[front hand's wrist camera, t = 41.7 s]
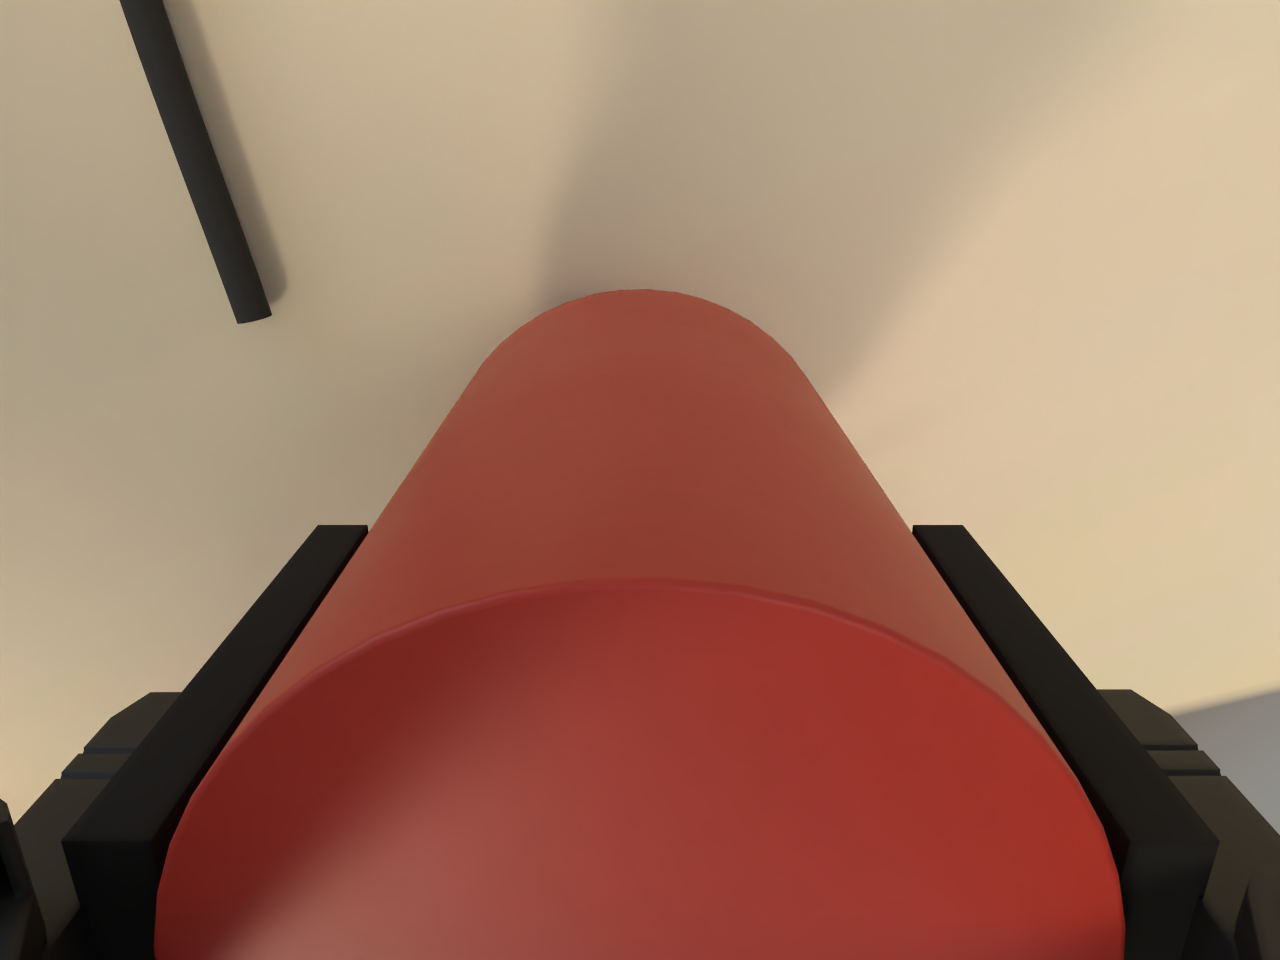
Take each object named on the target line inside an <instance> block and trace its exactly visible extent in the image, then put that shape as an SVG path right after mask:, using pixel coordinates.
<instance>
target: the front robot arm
mask: <svg viewBox="0 0 1280 960" xmlns="http://www.w3.org/2000/svg"><path fill="white" fill-rule="evenodd" d="M120 3H121V6H122V9H123V11H124V14H125V17H126V20H127V23H128V26H129V29H130V32H131V34H132V37H133V40H134V43H135V46H136V49H137V52H138V54H139V57H140V60H141V63H142V66H143V68H144V71H145V74H146V77H147V80H148V82H149V85H150V88H151V91H152V93H153V96H154V99H155V102H156V104H157V107H158V110H159V113H160V115H161V118H162V121H163V124H164V126H165V129H166V132H167V134H168V137H169V140H170V143H171V145H172V148H173V151H174V153H175V156H176V159H177V161H178V164H179V167H180V169H181V172H182V175H183V177H184V180H185V183H186V185H187V188H188V191H189V193H190V196H191V199H192V201H193V204H194V207H195V209H196V212H197V215H198V218H199V220H200V223H201V226H202V228H203V231H204V234H205V236H206V239H207V242H208V244H209V247H210V250H211V252H212V255H213V258H214V260H215V263H216V266H217V269H218V271H219V274H220V277H221V279H222V282H223V285H224V288H225V290H226V293H227V296H228V299H229V301H230V304H231V307H232V310H233V312H234V315H235V318H236V321H237V323H238V324H241V323H247V322H252V321H256V320H260V319H264V318H266V317H269V316H271V315H272V313H271V310H270V307H269V304H268V302H267V299H266V296H265V293H264V290H263V287H262V284H261V281H260V279H259V276H258V273H257V270H256V267H255V264H254V262H253V259H252V256H251V253H250V250H249V248H248V245H247V242H246V239H245V236H244V234H243V231H242V228H241V225H240V222H239V220H238V217H237V214H236V211H235V208H234V206H233V203H232V200H231V197H230V194H229V192H228V189H227V186H226V183H225V181H224V178H223V175H222V172H221V169H220V167H219V164H218V161H217V158H216V155H215V153H214V150H213V147H212V144H211V141H210V139H209V136H208V133H207V130H206V127H205V124H204V122H203V119H202V116H201V113H200V110H199V108H198V105H197V102H196V99H195V96H194V93H193V90H192V87H191V85H190V82H189V79H188V76H187V73H186V70H185V67H184V64H183V61H182V58H181V55H180V53H179V50H178V47H177V44H176V41H175V38H174V35H173V32H172V29H171V26H170V23H169V20H168V17H167V14H166V11H165V8H164V5H163V2H162V0H120ZM367 534H368V525H318V526H317V527H316V528H315V529H314V531H313V532H312V533H311V534H310V535H309V537H308V538H307V539H306V540H305V542H304V543H303V544H302V545H301V547H300V548H299V549H298V550H297V551H296V553H295V554H294V555H293V556H292V558H291V559H290V560H289V561H288V562H287V564H286V565H285V566H284V567H283V569H282V570H281V571H280V572H279V574H278V575H277V576H276V577H275V578H274V580H273V581H272V582H271V583H270V585H269V586H268V587H267V588H266V589H265V591H264V592H263V593H262V594H261V596H260V597H259V598H258V599H257V601H256V602H255V603H254V604H253V605H252V607H251V608H250V609H249V610H248V612H247V613H246V614H245V615H244V617H243V618H242V619H241V620H240V621H239V623H238V624H237V625H236V626H235V628H234V629H233V630H232V631H231V632H230V634H229V635H228V636H227V637H226V639H225V640H224V641H223V642H222V644H221V645H220V646H219V647H218V648H217V650H216V651H215V652H214V653H213V655H212V656H211V657H210V658H209V659H208V661H207V662H206V663H205V664H204V666H203V667H202V668H201V669H200V671H199V672H198V673H197V674H196V675H195V677H194V678H193V679H192V680H191V682H190V683H189V684H188V685H187V686H186V688H185V689H184V690H183V691H182V692H150V693H149V694H147V695H146V696H144V697H142V698H141V699H139V700H138V701H136V702H135V703H133V704H132V705H130V706H128V707H127V708H125V709H124V710H122V711H121V712H119V713H118V714H116V715H114V716H113V717H111V718H110V719H109V720H108V721H107V723H106V724H105V725H104V726H103V727H102V728H101V729H100V730H99V731H98V733H97V734H96V735H95V736H94V737H93V738H92V739H91V740H90V741H89V743H88V744H87V745H86V746H85V747H84V752H83V754H78V755H77V756H76V757H75V758H74V759H73V760H72V761H71V763H70V764H69V765H68V766H67V767H66V768H65V769H64V770H63V771H62V776H61V778H60V779H55V780H54V781H53V783H52V784H51V785H50V786H49V787H48V788H47V789H46V790H45V791H44V793H43V794H42V795H41V796H40V797H39V798H38V799H37V800H36V801H35V803H34V804H33V805H32V806H31V807H30V808H29V809H28V810H27V811H26V813H25V814H24V815H23V816H22V817H21V818H20V819H19V820H18V821H17V823H16V824H15V825H13V821H12V818H11V815H10V812H9V809H8V806H7V803H5V802H4V801H3V800H1V799H0V960H155V953H154V934H155V919H156V903H157V892H158V888H159V884H160V880H161V876H162V872H163V868H164V864H165V860H166V856H167V852H168V848H169V844H170V842H171V840H172V838H173V835H174V833H175V831H176V829H177V827H178V825H179V822H180V820H181V818H182V816H183V814H184V811H185V809H186V807H187V805H188V803H189V800H190V798H191V796H192V795H193V793H194V792H195V790H196V789H197V787H198V786H199V784H200V783H201V781H202V780H203V778H204V777H205V775H206V774H207V772H208V771H209V769H210V768H211V766H212V765H213V763H214V762H215V760H216V759H217V757H218V756H219V754H220V753H221V751H222V750H223V748H224V747H225V746H226V744H227V743H228V741H229V740H230V738H231V737H232V735H233V734H234V732H235V731H236V729H237V728H238V726H239V725H240V723H241V722H242V720H243V719H244V717H245V716H246V714H247V713H248V711H249V710H250V708H251V707H252V705H253V704H254V702H255V701H256V699H257V698H258V696H259V695H260V693H261V692H262V691H263V689H264V688H265V686H266V685H267V683H268V682H269V680H270V679H271V677H272V676H273V674H274V673H275V671H276V670H277V668H278V667H279V665H280V664H281V662H282V661H283V659H284V658H285V656H286V655H287V653H288V652H289V650H290V649H291V647H292V646H293V644H294V643H295V641H296V640H297V638H298V637H299V636H300V634H301V633H302V631H303V630H304V628H305V627H306V625H307V624H308V622H309V621H310V619H311V618H312V616H313V615H314V613H315V612H316V610H317V609H318V607H319V606H320V604H321V603H322V601H323V600H324V598H325V597H326V595H327V594H328V592H329V591H330V589H331V588H332V586H333V585H334V584H335V582H336V581H337V579H338V578H339V576H340V575H341V573H342V572H343V570H344V569H345V567H346V566H347V564H348V563H349V561H350V560H351V558H352V557H353V555H354V554H355V552H356V551H357V549H358V548H359V546H360V545H361V543H362V542H363V540H364V539H365V537H366V536H367ZM912 534H913V536H914V537H915V539H916V540H917V542H918V543H919V544H920V546H921V547H922V549H923V550H924V552H925V553H926V555H927V556H928V558H929V559H930V561H931V562H932V564H933V565H934V567H935V568H936V570H937V571H938V573H939V574H940V576H941V577H942V579H943V580H944V582H945V583H946V585H947V586H948V587H949V589H950V590H951V592H952V593H953V595H954V596H955V598H956V599H957V601H958V602H959V604H960V605H961V607H962V608H963V610H964V611H965V613H966V614H967V616H968V617H969V619H970V620H971V622H972V623H973V625H974V626H975V628H976V629H977V630H978V632H979V633H980V635H981V636H982V638H983V639H984V641H985V642H986V644H987V645H988V647H989V648H990V650H991V651H992V653H993V654H994V656H995V657H996V659H997V660H998V662H999V663H1000V665H1001V666H1002V668H1003V669H1004V671H1005V672H1006V673H1007V675H1008V676H1009V678H1010V679H1011V681H1012V682H1013V684H1014V685H1015V687H1016V688H1017V690H1018V691H1019V693H1020V694H1021V696H1022V697H1023V699H1024V700H1025V702H1026V703H1027V705H1028V706H1029V708H1030V709H1031V711H1032V712H1033V714H1034V715H1035V716H1036V718H1037V719H1038V721H1039V722H1040V724H1041V725H1042V727H1043V728H1044V730H1045V731H1046V733H1047V734H1048V736H1049V737H1050V739H1051V740H1052V742H1053V743H1054V745H1055V746H1056V748H1057V749H1058V751H1059V752H1060V754H1061V755H1062V757H1063V758H1064V760H1065V761H1066V762H1067V764H1068V765H1069V767H1070V768H1071V770H1072V771H1073V773H1074V774H1075V776H1076V777H1077V779H1078V781H1079V782H1080V784H1081V786H1082V788H1083V790H1084V792H1085V794H1086V796H1087V797H1088V799H1089V801H1090V803H1091V805H1092V807H1093V809H1094V810H1095V812H1096V814H1097V816H1098V818H1099V820H1100V822H1101V824H1102V825H1103V828H1104V831H1105V834H1106V837H1107V840H1108V843H1109V846H1110V849H1111V853H1112V856H1113V859H1114V862H1115V865H1116V868H1117V871H1118V874H1119V881H1120V888H1121V896H1122V903H1123V911H1124V919H1125V928H1126V931H1125V950H1124V960H1280V835H1279V834H1278V833H1277V832H1276V831H1275V830H1274V829H1273V827H1272V826H1271V825H1270V824H1269V823H1268V822H1267V821H1266V820H1265V819H1264V817H1263V816H1262V815H1261V814H1260V813H1259V812H1258V811H1257V810H1256V809H1255V808H1254V806H1253V805H1252V804H1251V803H1250V802H1249V801H1248V800H1247V799H1246V798H1245V796H1244V795H1243V794H1242V793H1241V792H1240V791H1239V790H1238V789H1237V788H1236V787H1235V785H1234V784H1233V783H1232V782H1231V781H1230V780H1229V779H1228V778H1227V777H1226V776H1221V774H1220V769H1219V768H1218V767H1217V766H1216V764H1215V763H1214V762H1213V761H1212V760H1211V759H1210V758H1209V757H1208V756H1207V755H1206V753H1205V752H1204V751H1199V750H1198V745H1197V744H1196V742H1195V741H1194V740H1193V739H1192V738H1191V737H1190V736H1189V735H1188V734H1187V732H1186V731H1185V730H1184V729H1183V728H1182V727H1181V726H1180V725H1179V724H1178V723H1177V721H1176V720H1175V719H1174V718H1173V717H1172V716H1171V715H1170V714H1168V713H1167V712H1165V711H1164V710H1162V709H1161V708H1159V707H1157V706H1156V705H1154V704H1153V703H1151V702H1150V701H1148V700H1146V699H1145V698H1143V697H1142V696H1140V695H1139V694H1137V693H1135V692H1134V691H1132V690H1097V689H1096V688H1095V687H1094V686H1093V684H1092V683H1091V682H1090V681H1089V680H1088V678H1087V677H1086V676H1085V675H1084V673H1083V672H1082V671H1081V670H1080V669H1079V667H1078V666H1077V665H1076V664H1075V662H1074V661H1073V660H1072V659H1071V657H1070V656H1069V655H1068V654H1067V653H1066V651H1065V650H1064V649H1063V648H1062V646H1061V645H1060V644H1059V643H1058V642H1057V640H1056V639H1055V638H1054V637H1053V635H1052V634H1051V633H1050V632H1049V630H1048V629H1047V628H1046V627H1045V626H1044V624H1043V623H1042V622H1041V621H1040V619H1039V618H1038V617H1037V616H1036V614H1035V613H1034V612H1033V611H1032V610H1031V608H1030V607H1029V606H1028V605H1027V603H1026V602H1025V601H1024V600H1023V599H1022V597H1021V596H1020V595H1019V594H1018V592H1017V591H1016V590H1015V589H1014V587H1013V586H1012V585H1011V584H1010V583H1009V581H1008V580H1007V579H1006V578H1005V576H1004V575H1003V574H1002V573H1001V572H1000V570H999V569H998V568H997V567H996V565H995V564H994V563H993V562H992V560H991V559H990V558H989V557H988V556H987V554H986V553H985V552H984V551H983V549H982V548H981V547H980V546H979V545H978V543H977V542H976V541H975V540H974V538H973V537H972V536H971V535H970V533H969V532H968V531H967V530H966V529H965V527H964V526H963V525H913V530H912Z"/></svg>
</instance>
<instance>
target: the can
mask: <svg viewBox="0 0 1280 960" xmlns="http://www.w3.org/2000/svg"><path fill="white" fill-rule="evenodd" d="M1125 931H1126V928H1125V919H1124V911H1123V903H1122V896H1121V888H1120V881H1119V874H1118V871H1117V868H1116V865H1115V862H1114V859H1113V856H1112V853H1111V849H1110V846H1109V843H1108V840H1107V837H1106V834H1105V831H1104V828H1103V825H1102V824H1101V822H1100V820H1099V818H1098V816H1097V814H1096V812H1095V810H1094V809H1093V807H1092V805H1091V803H1090V801H1089V799H1088V797H1087V796H1086V794H1085V792H1084V790H1083V788H1082V786H1081V784H1080V782H1079V781H1078V779H1077V777H1076V776H1075V774H1074V773H1073V771H1072V770H1071V768H1070V767H1069V765H1068V764H1067V762H1066V761H1065V760H1064V758H1063V757H1062V755H1061V754H1060V752H1059V751H1058V749H1057V748H1056V746H1055V745H1054V743H1053V742H1052V740H1051V739H1050V737H1049V736H1048V734H1047V733H1046V731H1045V730H1044V728H1043V727H1042V725H1041V724H1040V722H1039V721H1038V719H1037V718H1036V716H1035V715H1034V714H1033V712H1032V711H1031V709H1030V708H1029V706H1028V705H1027V703H1026V702H1025V700H1024V699H1023V697H1022V696H1021V694H1020V693H1019V691H1018V690H1017V688H1016V687H1015V685H1014V684H1013V682H1012V681H1011V679H1010V678H1009V676H1008V675H1007V673H1006V672H1005V671H1004V669H1003V668H1002V666H1001V665H1000V663H999V662H998V660H997V659H996V657H995V656H994V654H993V653H992V651H991V650H990V648H989V647H988V645H987V644H986V642H985V641H984V639H983V638H982V636H981V635H980V633H979V632H978V630H977V629H976V628H975V626H974V625H973V623H972V622H971V620H970V619H969V617H968V616H967V614H966V613H965V611H964V610H963V608H962V607H961V605H960V604H959V602H958V601H957V599H956V598H955V596H954V595H953V593H952V592H951V590H950V589H949V587H948V586H947V585H946V583H945V582H944V580H943V579H942V577H941V576H940V574H939V573H938V571H937V570H936V568H935V567H934V565H933V564H932V562H931V561H930V559H929V558H928V556H927V555H926V553H925V552H924V550H923V549H922V547H921V546H920V544H919V543H918V542H917V540H916V539H915V537H914V536H913V534H912V533H911V531H910V530H909V528H908V527H907V525H906V524H905V522H904V521H903V519H902V518H901V516H900V515H899V513H898V512H897V510H896V509H895V507H894V506H893V504H892V503H891V501H890V500H889V499H888V497H887V496H886V494H885V493H884V491H883V490H882V488H881V487H880V485H879V484H878V482H877V481H876V479H875V478H874V476H873V475H872V473H871V472H870V470H869V469H868V467H867V466H866V464H865V463H864V461H863V460H862V458H861V457H860V455H859V454H858V453H857V451H856V450H855V448H854V447H853V445H852V444H851V442H850V441H849V439H848V438H847V436H846V435H845V433H844V432H843V430H842V429H841V427H840V426H839V424H838V423H837V421H836V420H835V418H834V417H833V415H832V414H831V412H830V411H829V410H828V408H827V407H826V405H825V404H824V402H823V401H822V399H821V398H820V396H819V395H818V393H817V392H816V390H815V389H814V387H813V386H812V384H811V383H810V381H809V380H808V378H807V377H806V376H805V374H804V373H803V372H802V370H801V369H800V368H799V366H798V365H797V364H796V362H795V361H794V360H793V358H792V357H791V356H790V355H789V354H788V353H787V352H786V351H785V350H784V349H783V348H782V347H781V346H780V345H779V344H778V343H777V342H776V341H775V340H774V339H773V338H772V337H771V336H769V335H768V334H767V333H765V332H764V331H763V330H761V329H760V328H759V327H757V326H756V325H755V324H753V323H752V322H751V321H749V320H747V319H745V318H743V317H742V316H740V315H738V314H736V313H734V312H733V311H731V310H729V309H727V308H724V307H722V306H719V305H717V304H714V303H712V302H709V301H707V300H704V299H701V298H697V297H693V296H689V295H685V294H681V293H676V292H668V291H659V290H649V289H645V290H618V291H612V292H606V293H599V294H593V295H590V296H587V297H583V298H580V299H577V300H573V301H570V302H567V303H565V304H562V305H560V306H558V307H556V308H554V309H551V310H549V311H547V312H545V313H543V314H541V315H539V316H538V317H536V318H535V319H533V320H531V321H530V322H528V323H527V324H525V325H523V326H522V327H520V328H519V329H518V330H517V331H515V332H514V333H513V334H512V335H511V336H509V337H508V338H507V339H506V340H505V341H503V342H502V343H501V344H500V345H499V346H498V347H497V348H496V349H495V350H494V352H493V353H492V354H491V355H490V356H489V357H488V358H487V359H486V360H485V361H484V363H483V364H482V365H481V367H480V368H479V370H478V371H477V373H476V374H475V376H474V377H473V378H472V380H471V381H470V383H469V384H468V386H467V387H466V389H465V390H464V392H463V393H462V395H461V396H460V398H459V399H458V401H457V402H456V404H455V405H454V407H453V408H452V410H451V411H450V413H449V414H448V416H447V417H446V419H445V420H444V421H443V423H442V424H441V426H440V427H439V429H438V430H437V432H436V433H435V435H434V436H433V438H432V439H431V441H430V442H429V444H428V445H427V447H426V448H425V450H424V451H423V453H422V454H421V456H420V457H419V459H418V460H417V462H416V463H415V465H414V466H413V468H412V469H411V471H410V472H409V474H408V475H407V476H406V478H405V479H404V481H403V482H402V484H401V485H400V487H399V488H398V490H397V491H396V493H395V494H394V496H393V497H392V499H391V500H390V502H389V503H388V505H387V506H386V508H385V509H384V511H383V512H382V514H381V515H380V517H379V518H378V520H377V521H376V523H375V524H374V526H373V527H372V529H371V530H370V531H369V533H368V534H367V536H366V537H365V539H364V540H363V542H362V543H361V545H360V546H359V548H358V549H357V551H356V552H355V554H354V555H353V557H352V558H351V560H350V561H349V563H348V564H347V566H346V567H345V569H344V570H343V572H342V573H341V575H340V576H339V578H338V579H337V581H336V582H335V584H334V585H333V586H332V588H331V589H330V591H329V592H328V594H327V595H326V597H325V598H324V600H323V601H322V603H321V604H320V606H319V607H318V609H317V610H316V612H315V613H314V615H313V616H312V618H311V619H310V621H309V622H308V624H307V625H306V627H305V628H304V630H303V631H302V633H301V634H300V636H299V637H298V638H297V640H296V641H295V643H294V644H293V646H292V647H291V649H290V650H289V652H288V653H287V655H286V656H285V658H284V659H283V661H282V662H281V664H280V665H279V667H278V668H277V670H276V671H275V673H274V674H273V676H272V677H271V679H270V680H269V682H268V683H267V685H266V686H265V688H264V689H263V691H262V692H261V693H260V695H259V696H258V698H257V699H256V701H255V702H254V704H253V705H252V707H251V708H250V710H249V711H248V713H247V714H246V716H245V717H244V719H243V720H242V722H241V723H240V725H239V726H238V728H237V729H236V731H235V732H234V734H233V735H232V737H231V738H230V740H229V741H228V743H227V744H226V746H225V747H224V748H223V750H222V751H221V753H220V754H219V756H218V757H217V759H216V760H215V762H214V763H213V765H212V766H211V768H210V769H209V771H208V772H207V774H206V775H205V777H204V778H203V780H202V781H201V783H200V784H199V786H198V787H197V789H196V790H195V792H194V793H193V795H192V796H191V798H190V800H189V803H188V805H187V807H186V809H185V811H184V814H183V816H182V818H181V820H180V822H179V825H178V827H177V829H176V831H175V833H174V835H173V838H172V840H171V842H170V844H169V848H168V852H167V856H166V860H165V864H164V868H163V872H162V876H161V880H160V884H159V888H158V892H157V903H156V919H155V934H154V953H155V960H1124V950H1125Z"/></svg>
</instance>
